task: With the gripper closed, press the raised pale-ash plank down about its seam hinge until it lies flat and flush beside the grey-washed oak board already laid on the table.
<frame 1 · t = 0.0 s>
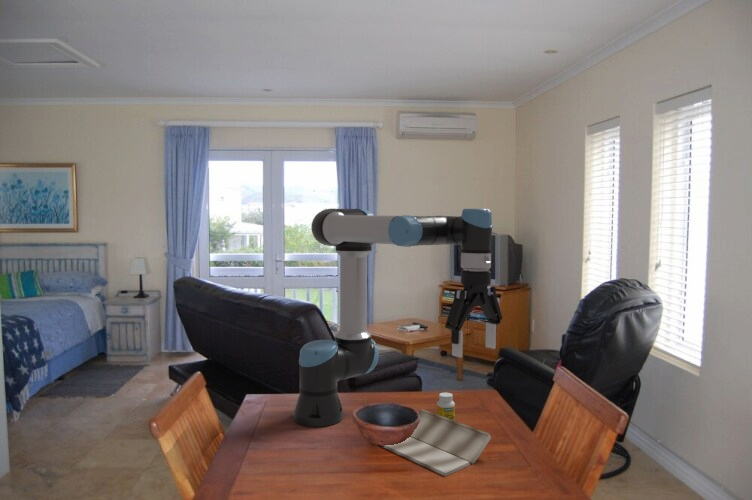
hand: (474, 352, 141), 28 cm above the table, fingers open, 13 cm apart
plank: (445, 434, 149), point 3 cm above the table, hinge at 35.0°
supplement bottle: (445, 426, 165), on the table
laid board: (421, 457, 143), on the table
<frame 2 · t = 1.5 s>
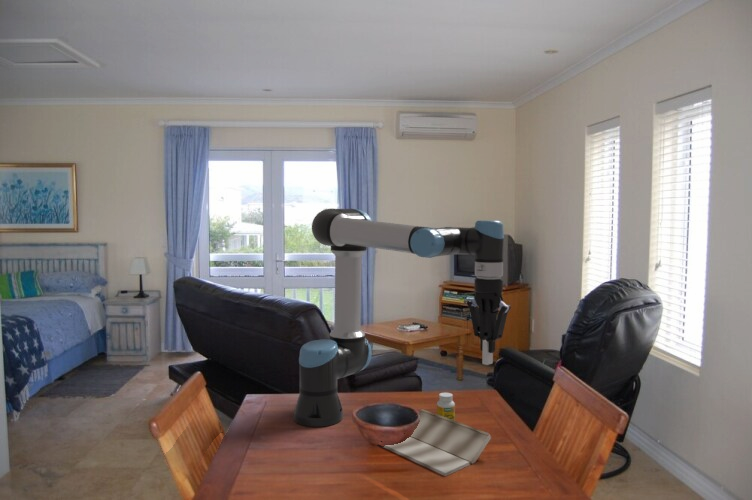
hand: (487, 363, 150), 23 cm above the table, fingers closed
nothing on the table moved.
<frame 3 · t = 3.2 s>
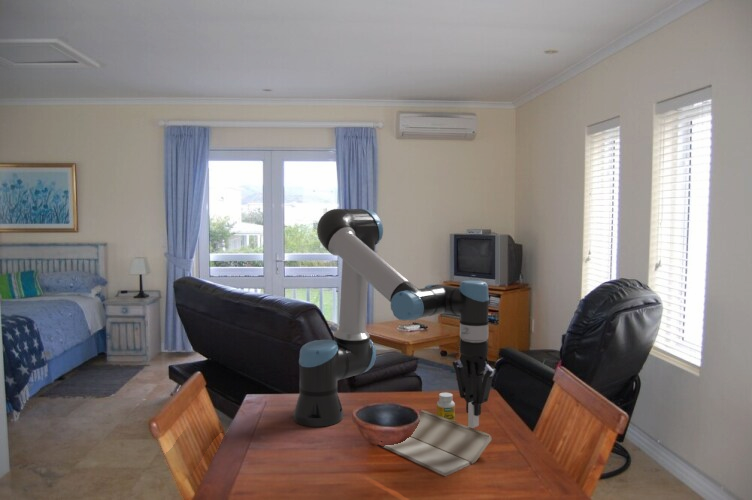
hand: (473, 426, 147), 7 cm above the table, fingers closed
plank: (445, 435, 149), point 3 cm above the table, hinge at 31.6°, touching gripper
everything else where it was.
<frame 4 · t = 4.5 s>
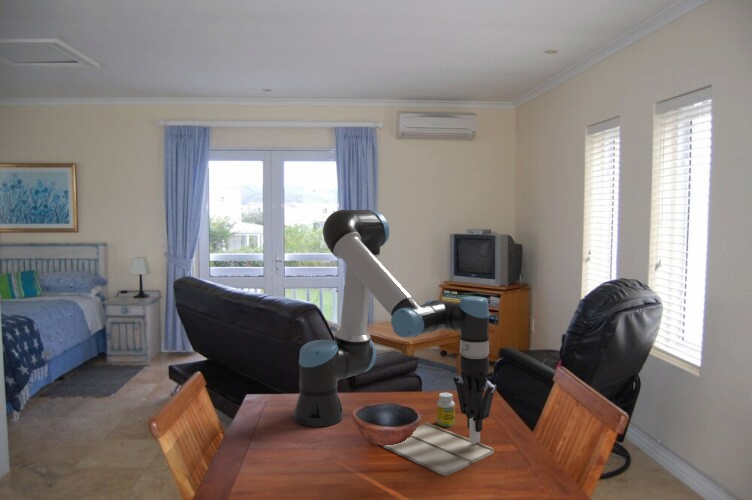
hand: (474, 441, 148), 2 cm above the table, fingers closed
plank: (447, 442, 150), point 1 cm above the table, hinge at 1.9°, touching gripper
everything else where it was.
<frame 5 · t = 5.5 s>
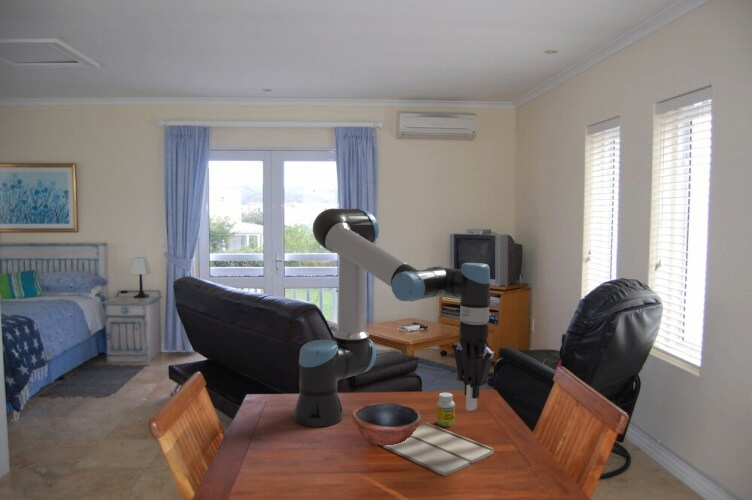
hand: (471, 408, 147), 11 cm above the table, fingers closed
plank: (447, 442, 150), point 1 cm above the table, hinge at 1.8°
everything else where it was.
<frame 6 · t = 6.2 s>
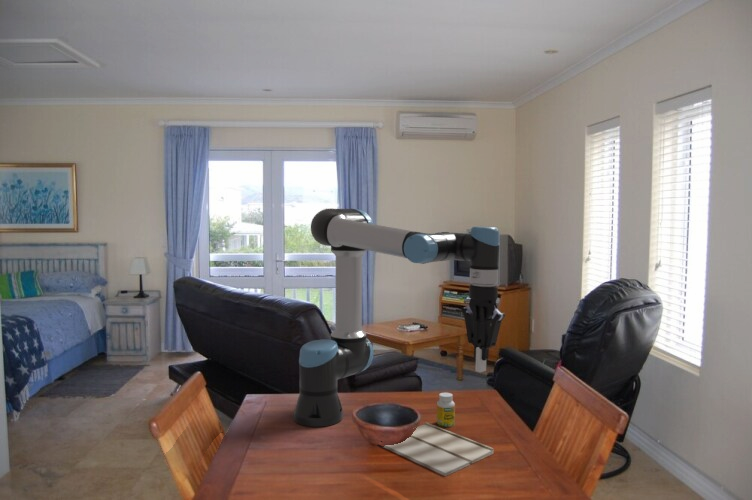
hand: (480, 370, 149), 21 cm above the table, fingers closed
nothing on the table moved.
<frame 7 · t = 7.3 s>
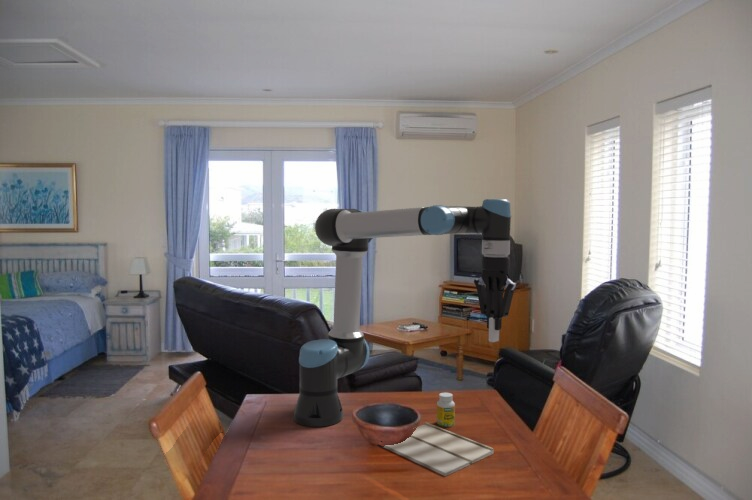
hand: (493, 341, 152), 28 cm above the table, fingers closed
nothing on the table moved.
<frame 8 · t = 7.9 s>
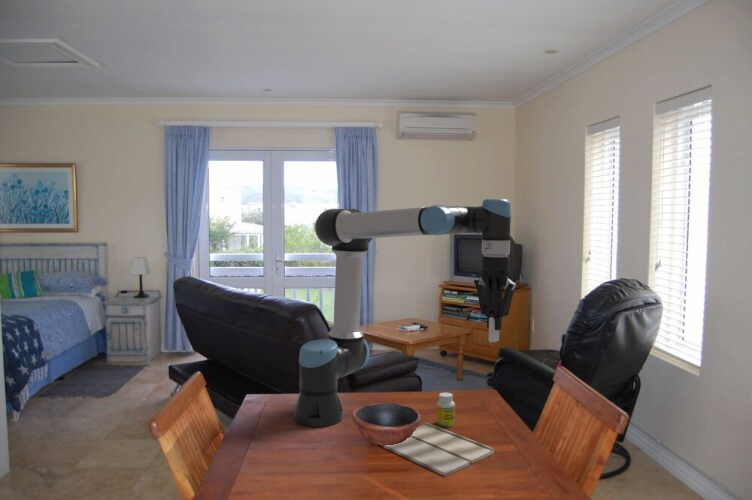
hand: (493, 341, 152), 28 cm above the table, fingers closed
nothing on the table moved.
at the end: plank at +2° (first picture: +35°); plank touching nothing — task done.
